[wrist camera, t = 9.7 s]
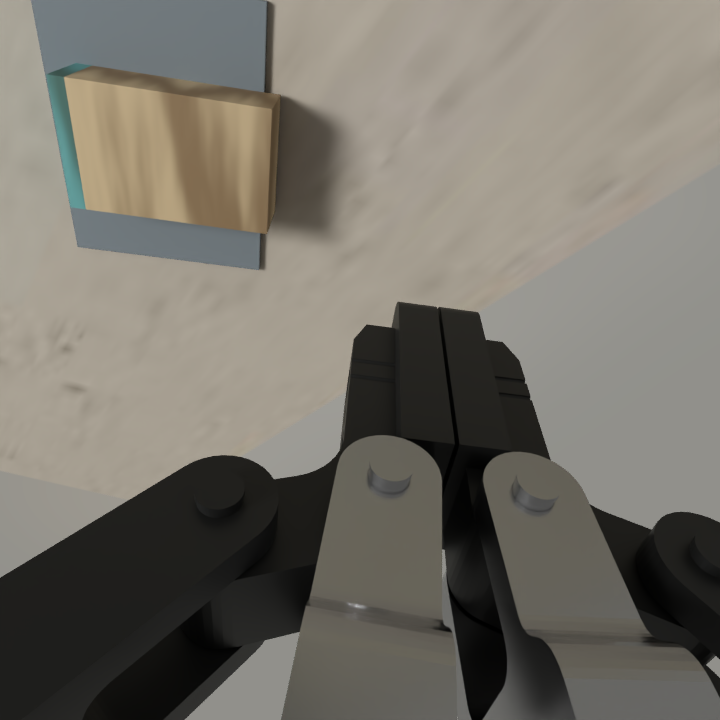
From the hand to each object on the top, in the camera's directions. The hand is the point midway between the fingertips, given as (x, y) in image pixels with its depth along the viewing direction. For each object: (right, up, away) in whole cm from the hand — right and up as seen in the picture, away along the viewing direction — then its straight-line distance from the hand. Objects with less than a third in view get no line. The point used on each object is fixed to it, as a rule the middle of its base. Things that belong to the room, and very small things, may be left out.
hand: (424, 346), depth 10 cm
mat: (-15, +15, +27) cm, 34 cm away
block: (-7, +13, +26) cm, 30 cm away
